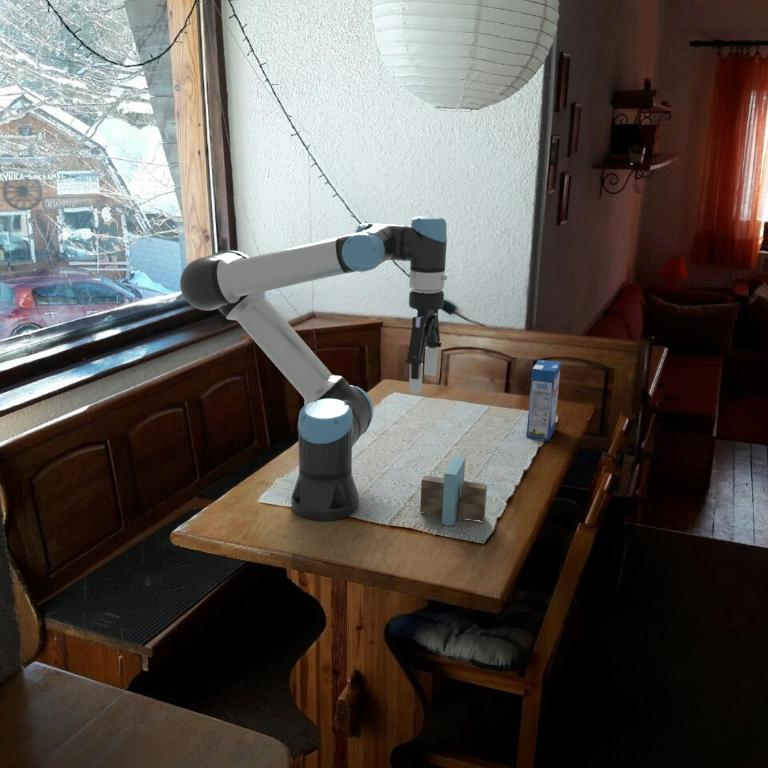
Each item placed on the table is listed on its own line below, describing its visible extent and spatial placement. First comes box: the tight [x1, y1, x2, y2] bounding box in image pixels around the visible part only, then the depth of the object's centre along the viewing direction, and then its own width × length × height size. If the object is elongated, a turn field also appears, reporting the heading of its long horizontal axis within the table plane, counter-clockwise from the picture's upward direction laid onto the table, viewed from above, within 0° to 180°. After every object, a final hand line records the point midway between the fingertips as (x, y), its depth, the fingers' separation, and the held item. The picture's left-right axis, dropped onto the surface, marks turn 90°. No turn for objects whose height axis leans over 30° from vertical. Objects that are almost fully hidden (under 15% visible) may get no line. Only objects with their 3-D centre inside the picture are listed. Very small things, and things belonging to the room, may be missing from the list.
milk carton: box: [526, 359, 562, 442], centre depth 223 cm, size 10×6×20 cm, turn 159°
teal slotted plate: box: [441, 455, 466, 525], centre depth 175 cm, size 10×2×12 cm, turn 163°
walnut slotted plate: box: [419, 475, 488, 522], centre depth 176 cm, size 14×2×8 cm, turn 73°
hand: (423, 383), depth 180 cm, fingers open, 13 cm apart
